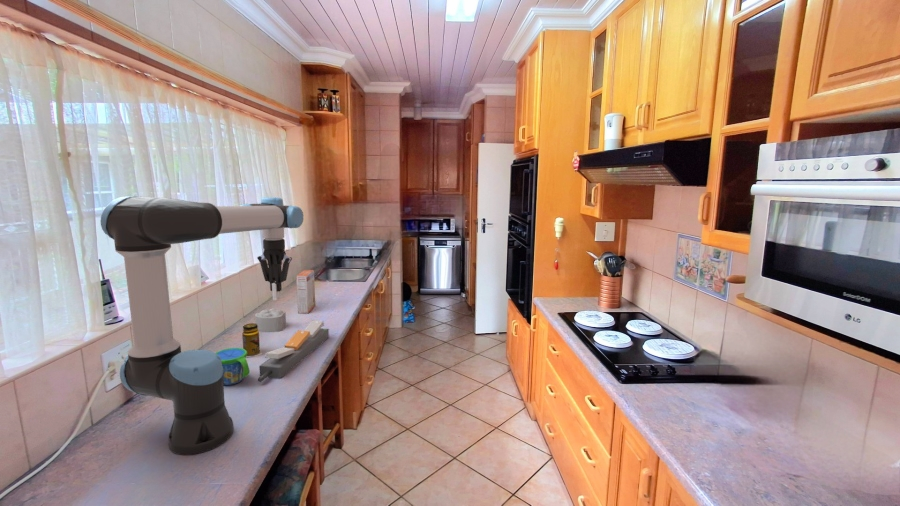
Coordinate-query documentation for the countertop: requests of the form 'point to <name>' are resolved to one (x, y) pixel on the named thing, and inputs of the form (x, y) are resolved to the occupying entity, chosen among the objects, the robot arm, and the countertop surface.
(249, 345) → the condiment
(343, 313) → the countertop surface
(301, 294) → the cracker box
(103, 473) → the countertop surface
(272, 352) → the rocker
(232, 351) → the snack cup
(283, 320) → the lumpy-topped squat cylinder
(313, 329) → the white flat slab
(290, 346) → the rocker
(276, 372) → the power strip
